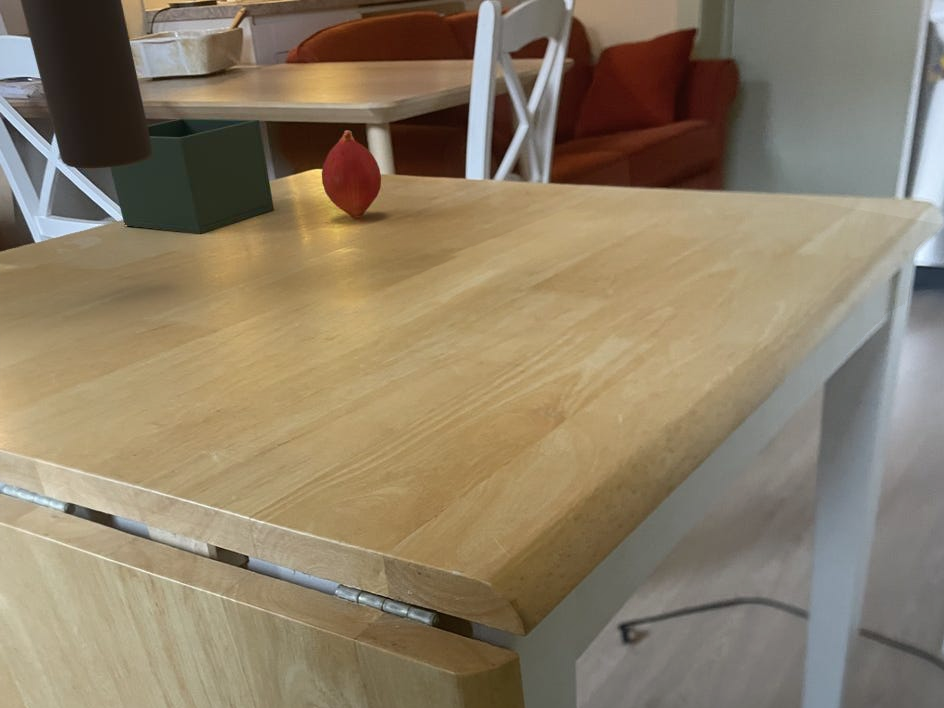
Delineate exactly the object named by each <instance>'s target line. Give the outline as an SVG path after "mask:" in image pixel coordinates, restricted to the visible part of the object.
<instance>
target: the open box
mask: <svg viewBox="0 0 944 708" xmlns="http://www.w3.org/2000/svg"><path fill="white" fill-rule="evenodd" d="M147 127H148V131H149V136H150V141H151V146H152V155H151V156H150V158H148V159H146V160H144V161H141V162H137V163H134V164H128V165H123V166H115V167H109V168H110V171H111V176H112V180H113V184H114V188H115V192H116V196H117V200H118V204H119V208H120V213H121V216H122V221H123V225H124V226H125V225H127V226H134V227H133V228H136V227H143V228H142V229H146V228H153V229H152V230H157V229H165V230H164V231H167V230H172V231H171V232H177V231H179V233H187V234H188V233H189V234H199V235H201V234H204V233H208V232H210V231H213V230H217V229H219V228H223V227H226V226H228V225H232V224H234V223H237V222H241V221H244V220H247V219H251V218H253V217H256V216H259V215H263V214H265V213H268V212H271V211H274V210H275V208H274V201H273V196H272V190H271V189H272V188H271V183H270V177H269V170H268V164H267V160H266V159H267V158H266V153H265V148H264V141H263V135H262V128H261V124H260V119H240V118H239V119H237V118H236V119H234V118H197V117H196V118H195V117H181V118H177V119H172V120H167V121H162V122H157V123H153V124H149V125H148V124H147ZM124 223H125V224H124Z"/></svg>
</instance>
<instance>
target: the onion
mask: <svg viewBox="0 0 944 708" xmlns="http://www.w3.org/2000/svg"><path fill="white" fill-rule="evenodd" d="M321 183H322V186H323V189H324V193H325V194H326V196H327V197H328V199H329V200H330V202H332V203H333V204H334V205H335V206H336V207H337V208H339V209H340V210H341V211H343V212H344V213H346V215H347V214H348V216H350V218H353V219H360V218H362V217H363V216H364V215H365V213H366V212H367V210H368V209H369V208H370V206H371V205H372V204H373V202H374V201H375V200H376V198H377V197H378V195H379V192H380V190H381V186H382V175H381V169H380V166H379V164H378V161H377V160H376V157H374V155H373V154H372V152H371V151H370V150H369V149H368V148H367V147H366V146H364V145H363V144H361V143H359V142H358V141H357V140H356V139H355V138H354V136H353V133H352V131H351V130H350V129H349V130H344V132H343V134H342V137H340V138H339V140H338V142H337V143H336V144H335V145H333V147H332V148H331V149H330V150H329V152H328V154H327V156H326V158H325V161H324V163H323V166H322V170H321Z"/></svg>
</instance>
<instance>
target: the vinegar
mask: <svg viewBox="0 0 944 708" xmlns="http://www.w3.org/2000/svg"><path fill="white" fill-rule="evenodd" d="M20 4H21V8H22V13H23V16H24V19H25V24H26V27H27V31H28V35H29V40H30V42H31V46H32V47H31V48H32V50H33V55H34V58H35V63H36V66H37V67H36V68H37V70H38V74H39V78H40V83H41V85H42V89H43V93H44V98H45V102H46V105H47V110H48V113H49V116H50V117H49V118H50V121H51V125H52V129H53V133H54V136H55V140H56V144H57V149H58V152H59V156H60V159H61V161H62V162H63V164H65V165H66V166H67V167H71V168H77V169H104V168H110V167H115V166H123V165H128V164H134V163H137V162H141V161H144V160H146V159H148V158H150V156H151V155H152V146H151V141H150V136H149V131H148V127H147V126H148V123H147V117H146V112H145V108H144V107H145V106H144V102H143V98H142V94H141V88H140V84H139V80H138V75H137V70H136V64H135V60H134V56H133V50H132V46H131V41H130V40H131V39H130V37H129V36H130V35H129V32H128V27H127V21H126V16H125V12H124V7H123V3H122V0H20Z"/></svg>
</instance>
